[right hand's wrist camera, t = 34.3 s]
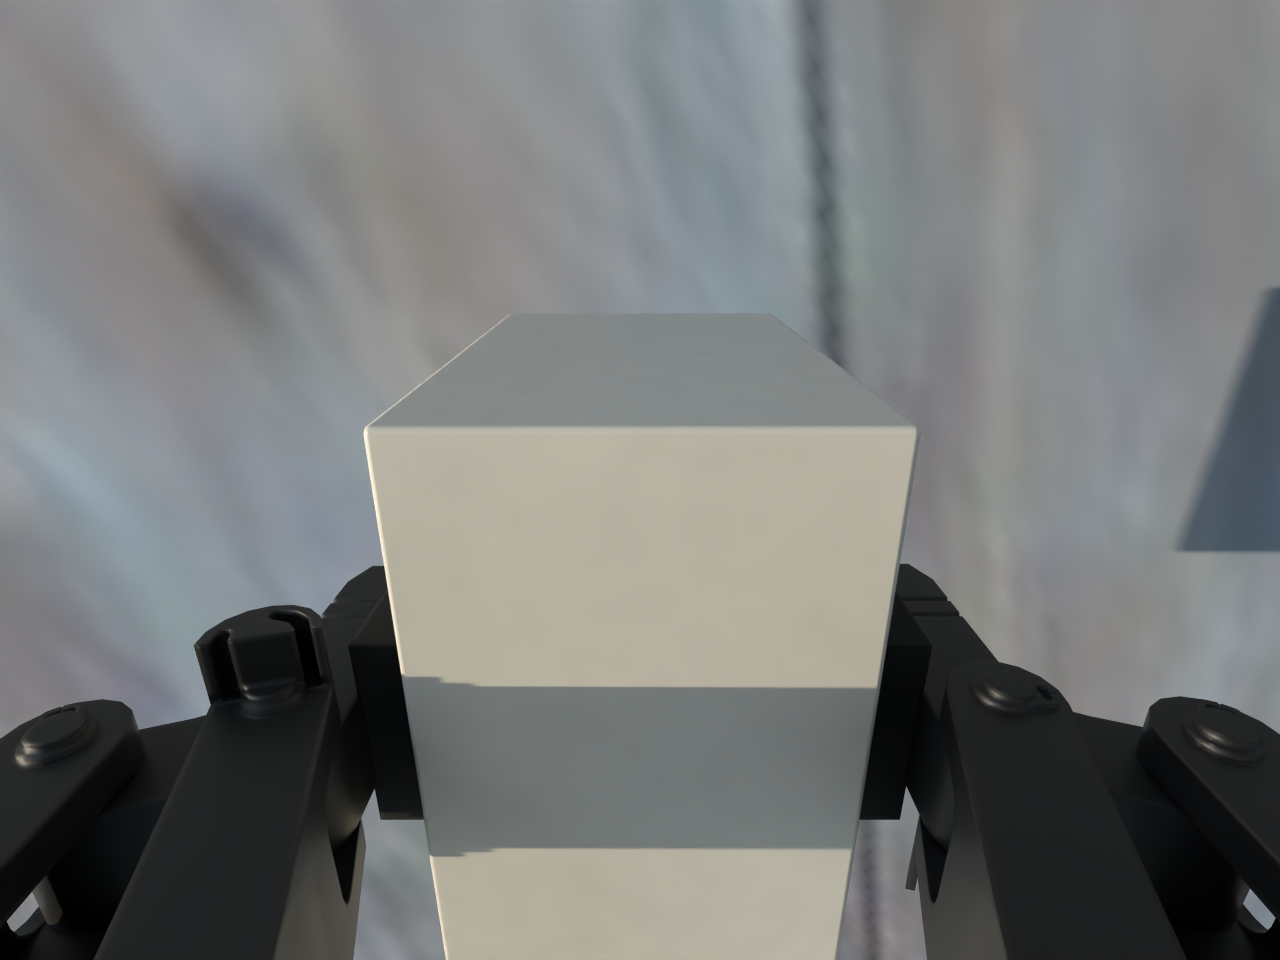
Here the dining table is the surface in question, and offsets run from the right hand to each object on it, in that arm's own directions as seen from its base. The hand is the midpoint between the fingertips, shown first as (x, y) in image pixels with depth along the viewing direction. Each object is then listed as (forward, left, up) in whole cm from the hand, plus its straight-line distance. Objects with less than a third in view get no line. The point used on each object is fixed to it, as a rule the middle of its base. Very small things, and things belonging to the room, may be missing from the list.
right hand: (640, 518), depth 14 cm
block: (0, 0, -1) cm, 1 cm away
